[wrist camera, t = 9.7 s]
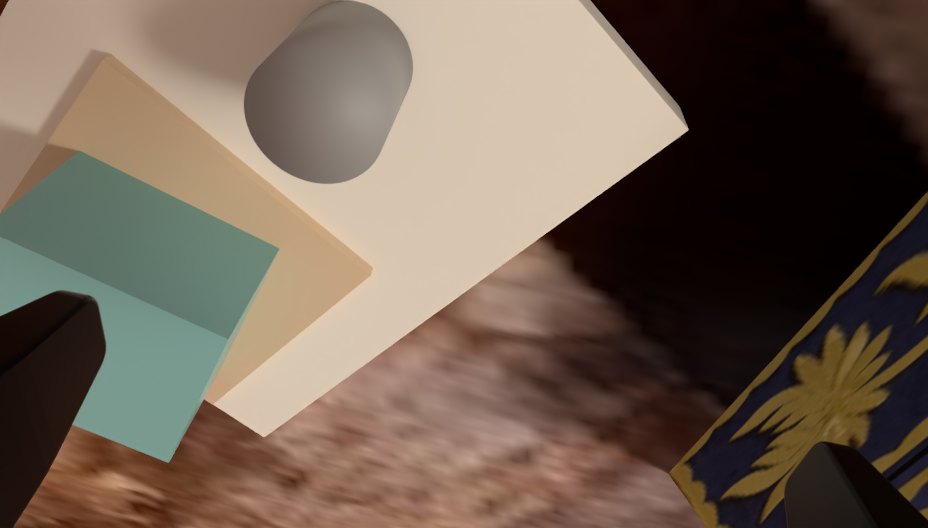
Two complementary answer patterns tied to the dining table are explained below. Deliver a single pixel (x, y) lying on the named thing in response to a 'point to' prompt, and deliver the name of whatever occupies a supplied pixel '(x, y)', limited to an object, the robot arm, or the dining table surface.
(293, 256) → the board
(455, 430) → the dining table surface
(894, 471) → the decorative box
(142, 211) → the mint green cube
